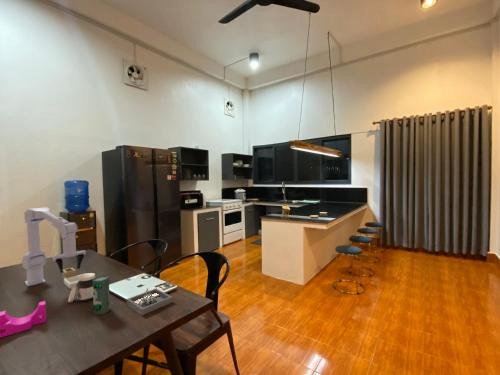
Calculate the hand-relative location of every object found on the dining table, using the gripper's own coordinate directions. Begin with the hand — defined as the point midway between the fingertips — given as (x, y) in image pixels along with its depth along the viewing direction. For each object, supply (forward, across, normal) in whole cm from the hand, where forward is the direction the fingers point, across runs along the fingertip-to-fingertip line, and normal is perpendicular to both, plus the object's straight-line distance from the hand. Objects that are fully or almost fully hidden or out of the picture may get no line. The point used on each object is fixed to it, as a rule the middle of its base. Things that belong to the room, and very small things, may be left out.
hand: (70, 270), depth 137 cm
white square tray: (+10, +5, +6) cm, 13 cm away
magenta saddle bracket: (+11, -23, -27) cm, 37 cm away
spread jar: (+11, 0, -19) cm, 22 cm away
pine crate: (+10, +3, +17) cm, 20 cm away
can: (+11, +2, -38) cm, 40 cm away
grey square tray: (+10, +19, -49) cm, 54 cm away
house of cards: (+11, +18, -50) cm, 55 cm away
